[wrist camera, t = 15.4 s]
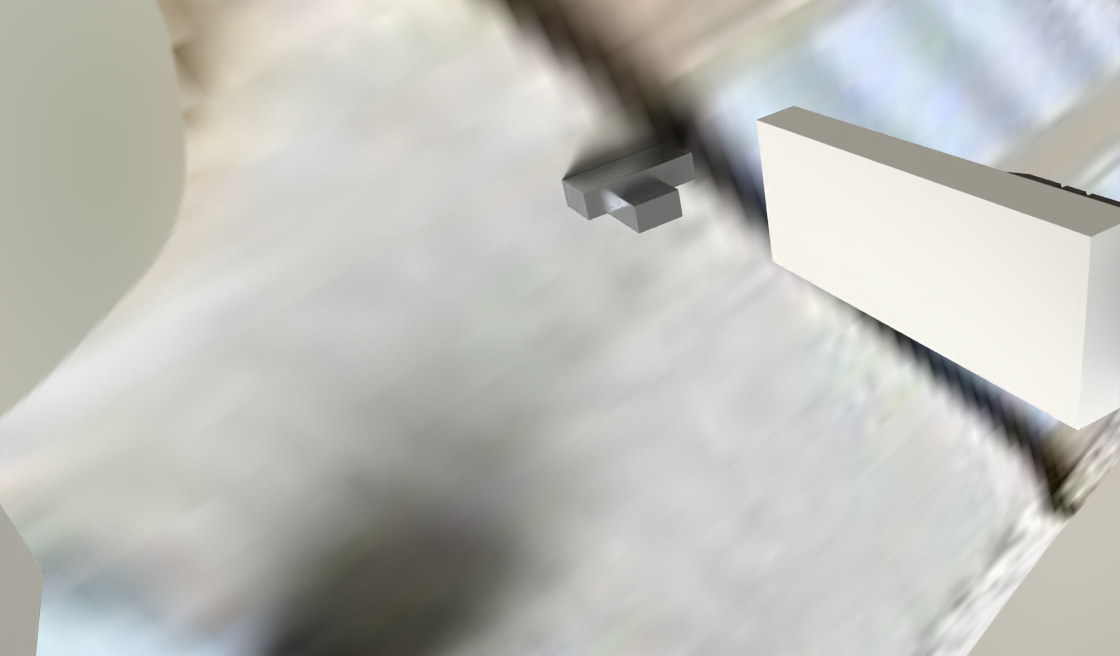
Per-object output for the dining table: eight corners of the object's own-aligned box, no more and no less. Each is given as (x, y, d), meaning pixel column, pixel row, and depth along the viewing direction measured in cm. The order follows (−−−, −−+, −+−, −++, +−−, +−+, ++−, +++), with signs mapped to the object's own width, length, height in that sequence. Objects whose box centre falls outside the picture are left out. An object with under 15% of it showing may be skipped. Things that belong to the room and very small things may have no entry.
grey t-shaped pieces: (571, 222, 48) (606, 246, 45) (490, -132, 40) (525, -134, 37) (673, 182, 50) (714, 203, 46) (615, -166, 42) (659, -171, 38)
